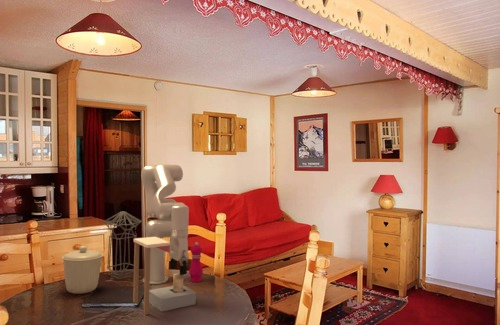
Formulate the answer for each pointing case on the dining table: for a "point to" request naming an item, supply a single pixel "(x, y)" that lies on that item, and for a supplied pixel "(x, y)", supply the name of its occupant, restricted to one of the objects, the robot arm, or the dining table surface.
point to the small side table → (146, 265)
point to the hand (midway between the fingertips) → (178, 271)
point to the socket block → (171, 298)
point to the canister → (82, 270)
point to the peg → (177, 283)
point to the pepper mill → (196, 264)
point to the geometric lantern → (120, 240)
